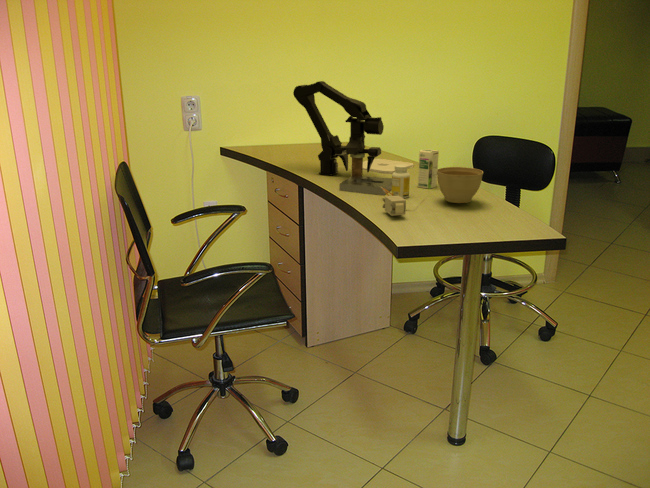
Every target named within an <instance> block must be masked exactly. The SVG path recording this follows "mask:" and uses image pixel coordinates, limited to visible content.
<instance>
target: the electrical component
mask: <svg viewBox="0 0 650 488" xmlns="http://www.w3.org/2000/svg"><path fill="white" fill-rule="evenodd" d="M381 188H382V187H381ZM382 189H383V190H385V191H387V190H386V189H384V188H382ZM387 192H388V193H387ZM387 192H385V193H386V195H384V198H382V201H383V205H382V208H383V209H384V212H386V213H388V214H389V215H390V216H393V217H394V216H405V215H406V211H407V210H406V209H407V200H406V198H402V197H400V196H399V195H398V196H394V195H393V194H392V192H391V191H387ZM389 194H390V195H389Z"/></svg>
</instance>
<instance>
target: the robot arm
mask: <svg viewBox="0 0 650 488" xmlns="http://www.w3.org/2000/svg"><path fill="white" fill-rule="evenodd" d="M317 93H320V94H322V95H323V96H325V97H327V98H328V99H329V100H332V101H333V102H335V103H336V104H338V105H339V106H341V107H342V109H343V110H344V112H346V113H347V114H348V115H349V116H348V118H347V119H346V120H345V123H349V125H350V127H349V128H350V131H349V132H350V133H349V135H350V136H349V138H348V142H347V144H346V145H342V144H343V142H342V141H341V139H340V138H339V135H337V134H336V135H334V134H332V133H331V131H330V129H329V127H328V125H327V123H326V121H325V120H324V118H323V115H322V114H321V111H320V109H319V108H318V105H317V104H316V98H315V94H317ZM292 94H293V96H294V98H295V100H296V101H297V102H298V103H299V104H300V105H301V106H302V107H303V108H304V109H305V111H306V113H307V115H308V117H309V119H310V121H311V123H312V125H313V126H314V128H315V130H316V132H317V134H318V136H319V138H320V142H321V143H320V144H321V145H320V146H321V148H322V151H321V152H320V153H318V155H317V158H318V161H320V162H319V163H320V167H319V172H318V174H319V175H326V176H327V175H328V176H334V175H337V174H338V173H339V167H338V165H339V163H338V161H337V160H338V159H337V158H340V159H341V162H342V164H343V166H344V169H345V171H346V172H348V171H349V155H350V154H354V155H357V154H358V153H365V154H367V155H368V156H367V159H366V160H368V163H367V170H366V172H367V173H369V172H370V171H369V170H370V168H371V165H372V162H373V160H374V159H376V158H377V157H378V156H380V155H382V149H381V147H378V146H377V147H375V146H371V147H369V148H366V145H365V139H366V135H375V136H376V135H378V136H381V135H382V134H383V133H384V126H385V125H384V123H383V121H382V119H383V118H382V116H377V117H372V115H371V114H370V112H369V111H368V109H367V105H366V103H365V102H364V101H361V100H358V99H357V98H353V97H349V96H347V95H345V94H344V93H342V92H340V90H337V89H335V88H334V87H332V86H331V85H330V84H328V83H326V82H325V81H324V80H320V81H319V80H318V81H316V82H314V83H311V84H301V85H296V86H295V87H294V89H293V93H292ZM365 134H366V135H365Z"/></svg>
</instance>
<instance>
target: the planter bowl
mask: <svg viewBox="0 0 650 488" xmlns="http://www.w3.org/2000/svg"><path fill="white" fill-rule="evenodd" d="M483 175H484V171H483V170H481V169H478V168H473V167H465V166H449V167H448V166H446V167H440V168H438V170H437V185H438V187H439V189H440V191H441V193H442V195H443V197H444V200H445V202H449V203H454V204H455V203H456V204H465V203H466V204H467V203H470V202H472V198H473V197H475V195H476V194H477V192H478V191H479V190H480V186H481V184H482V180H483Z"/></svg>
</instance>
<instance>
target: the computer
mask: <svg viewBox="0 0 650 488" xmlns="http://www.w3.org/2000/svg"><path fill="white" fill-rule="evenodd" d="M367 163H368V159H366V160H363V171H367ZM395 165H407V166H408V167H407V170H408V169H411V168H413V167H414V163H413V162H407V161H400V160H394V159H393V160H391V159H384V158H374V160H373V162H372V165H371V168H370V170H369V172H373V173H378V174H384V175H392V174H393V173H394V172H395ZM350 166H351V168H352V164H351V165H350Z"/></svg>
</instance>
